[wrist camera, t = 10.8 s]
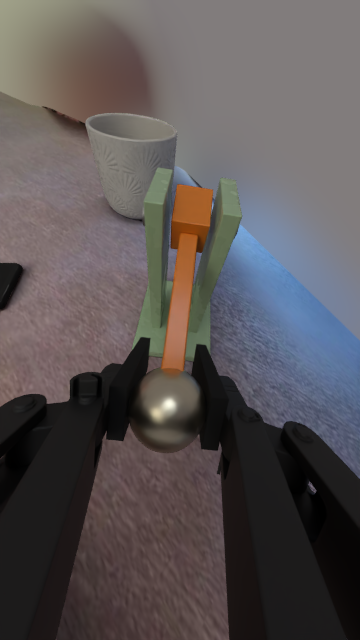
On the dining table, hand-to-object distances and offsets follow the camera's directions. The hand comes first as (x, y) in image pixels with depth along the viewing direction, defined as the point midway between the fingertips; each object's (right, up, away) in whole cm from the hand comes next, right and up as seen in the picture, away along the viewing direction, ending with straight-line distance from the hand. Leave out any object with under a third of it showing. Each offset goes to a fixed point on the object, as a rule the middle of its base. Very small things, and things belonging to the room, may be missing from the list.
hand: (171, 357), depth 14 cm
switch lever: (+1, +3, -2) cm, 4 cm away
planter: (-7, +24, +20) cm, 32 cm away
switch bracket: (0, +3, +8) cm, 8 cm away
